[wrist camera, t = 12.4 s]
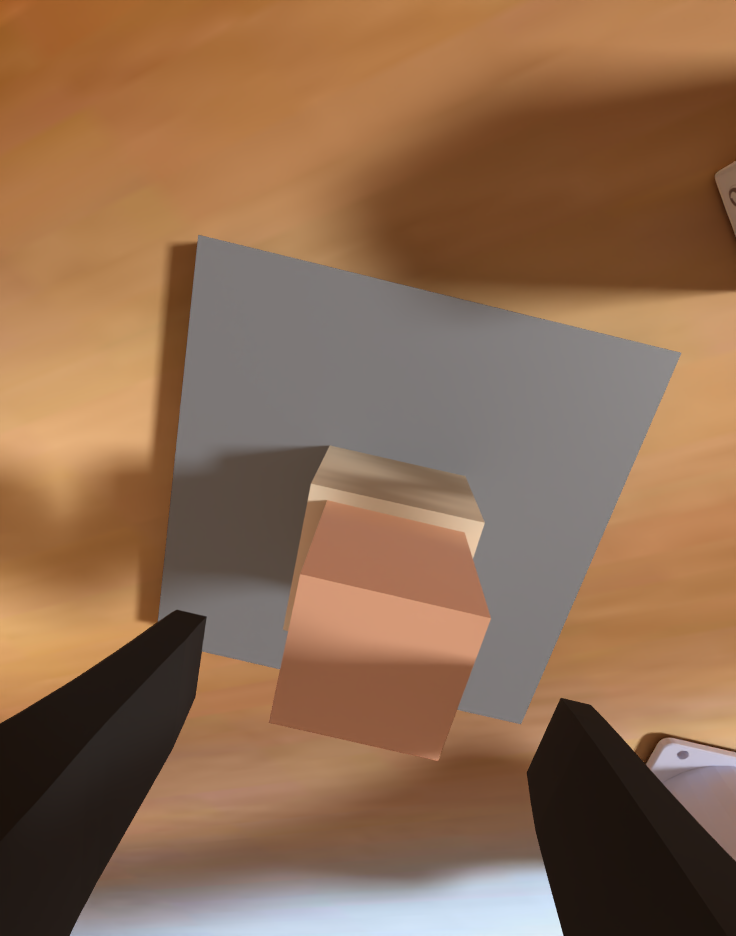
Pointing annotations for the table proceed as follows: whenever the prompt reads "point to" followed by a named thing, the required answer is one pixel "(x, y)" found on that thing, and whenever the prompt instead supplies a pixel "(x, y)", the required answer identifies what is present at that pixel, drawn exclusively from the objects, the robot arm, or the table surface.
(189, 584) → the base board
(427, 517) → the birch block
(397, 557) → the terracotta cube
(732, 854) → the robot arm
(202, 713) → the table surface
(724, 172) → the skincare box
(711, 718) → the table surface
